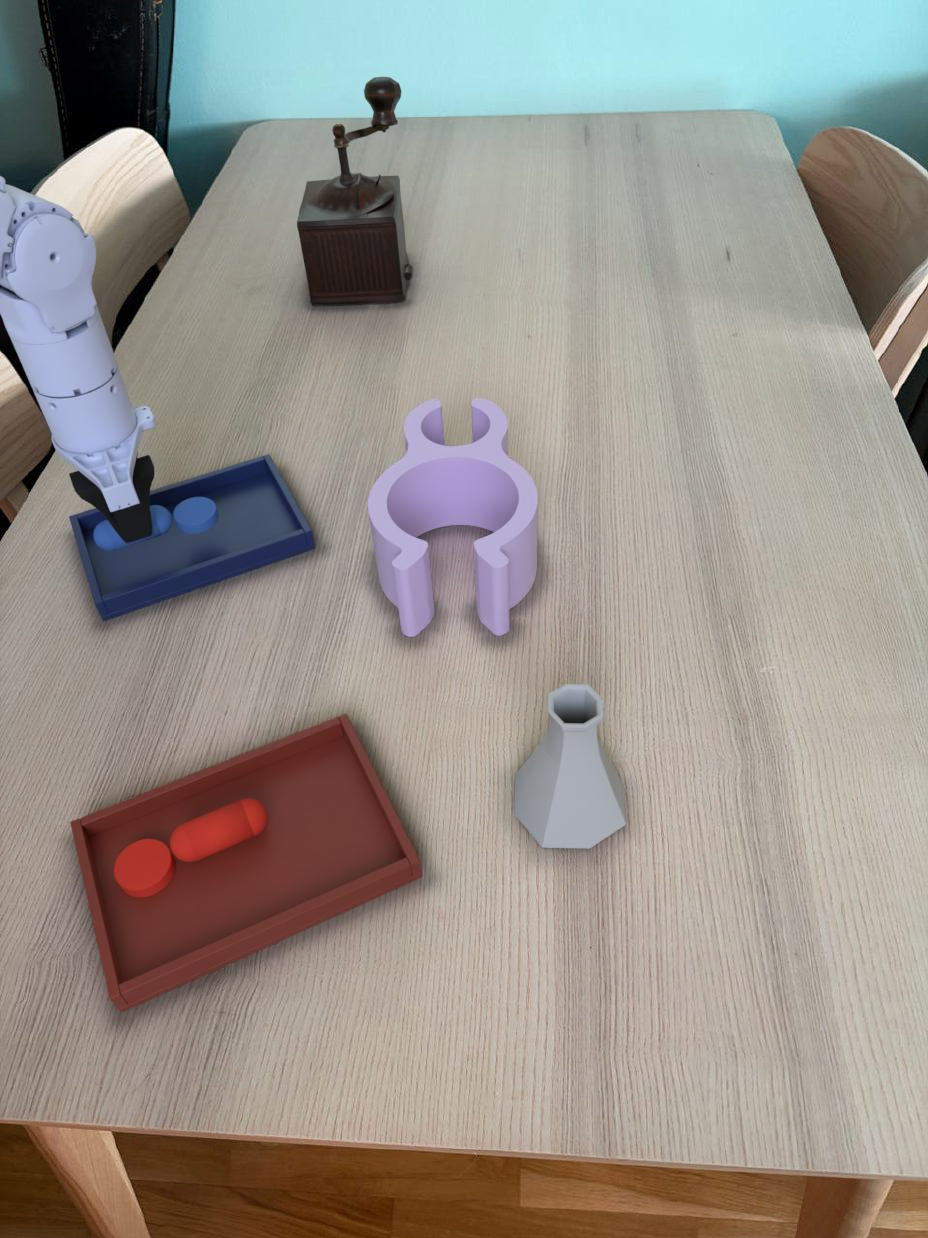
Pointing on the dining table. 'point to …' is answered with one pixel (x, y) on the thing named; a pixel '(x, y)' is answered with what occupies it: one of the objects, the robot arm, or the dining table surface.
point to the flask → (570, 776)
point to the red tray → (244, 860)
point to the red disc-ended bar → (187, 846)
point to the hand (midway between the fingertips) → (134, 525)
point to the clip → (455, 515)
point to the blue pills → (164, 522)
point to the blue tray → (197, 539)
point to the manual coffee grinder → (356, 222)
